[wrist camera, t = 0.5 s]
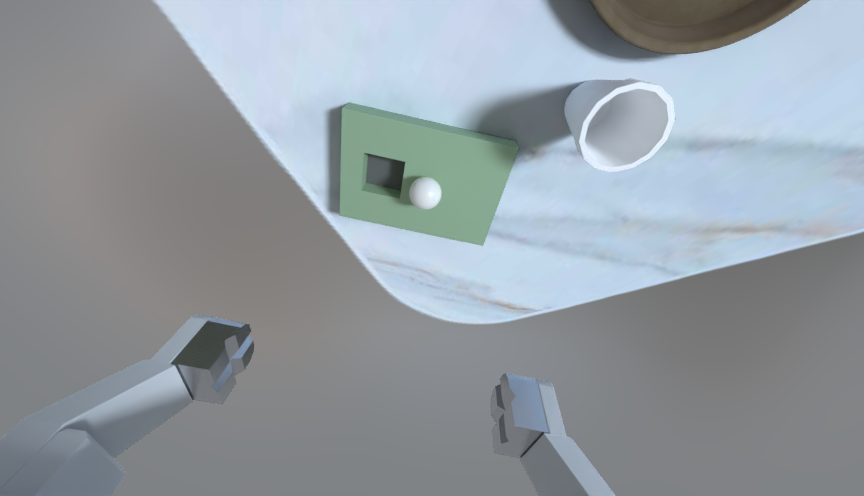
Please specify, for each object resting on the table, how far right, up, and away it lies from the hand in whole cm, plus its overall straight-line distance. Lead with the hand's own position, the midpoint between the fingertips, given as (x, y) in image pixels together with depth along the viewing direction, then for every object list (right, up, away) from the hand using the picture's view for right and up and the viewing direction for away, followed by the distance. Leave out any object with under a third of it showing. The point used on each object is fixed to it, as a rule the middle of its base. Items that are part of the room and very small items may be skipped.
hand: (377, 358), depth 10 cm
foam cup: (+24, +24, +34) cm, 48 cm away
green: (0, +16, +43) cm, 46 cm away
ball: (+1, +12, +38) cm, 40 cm away
